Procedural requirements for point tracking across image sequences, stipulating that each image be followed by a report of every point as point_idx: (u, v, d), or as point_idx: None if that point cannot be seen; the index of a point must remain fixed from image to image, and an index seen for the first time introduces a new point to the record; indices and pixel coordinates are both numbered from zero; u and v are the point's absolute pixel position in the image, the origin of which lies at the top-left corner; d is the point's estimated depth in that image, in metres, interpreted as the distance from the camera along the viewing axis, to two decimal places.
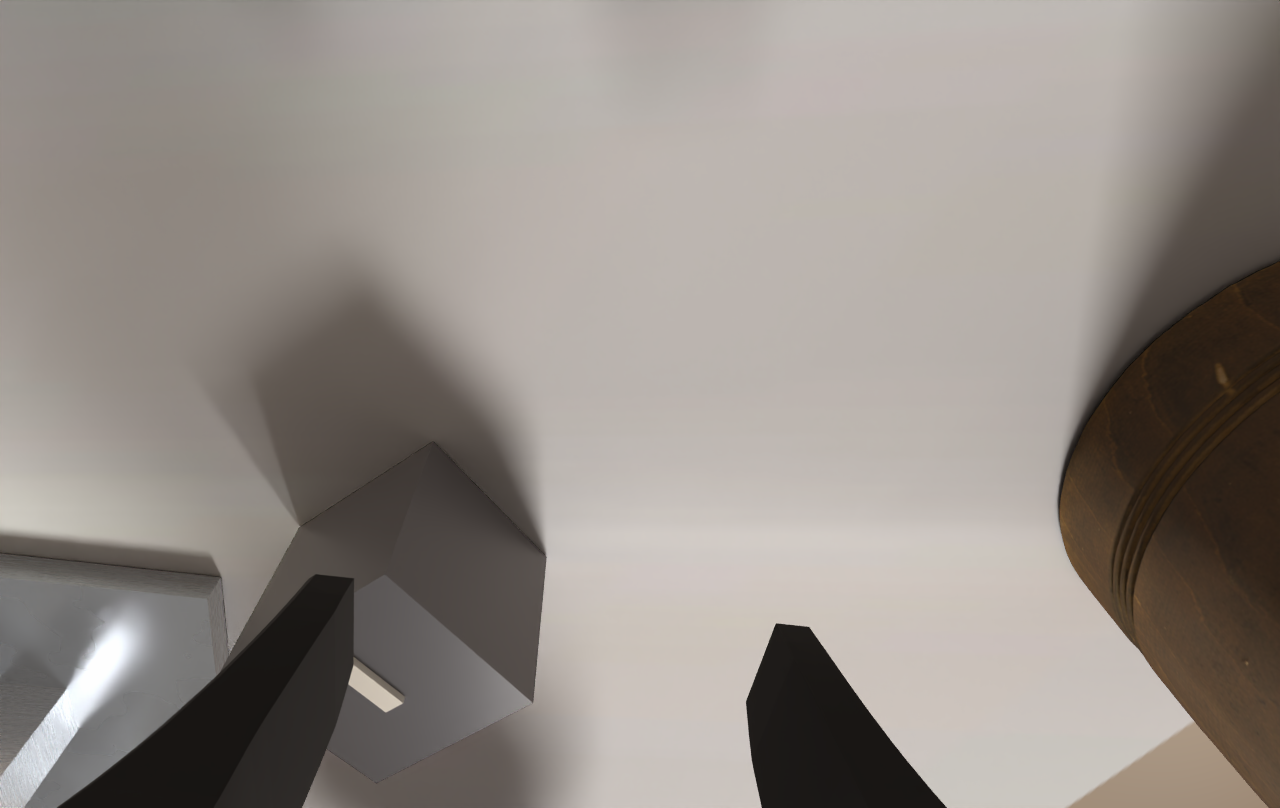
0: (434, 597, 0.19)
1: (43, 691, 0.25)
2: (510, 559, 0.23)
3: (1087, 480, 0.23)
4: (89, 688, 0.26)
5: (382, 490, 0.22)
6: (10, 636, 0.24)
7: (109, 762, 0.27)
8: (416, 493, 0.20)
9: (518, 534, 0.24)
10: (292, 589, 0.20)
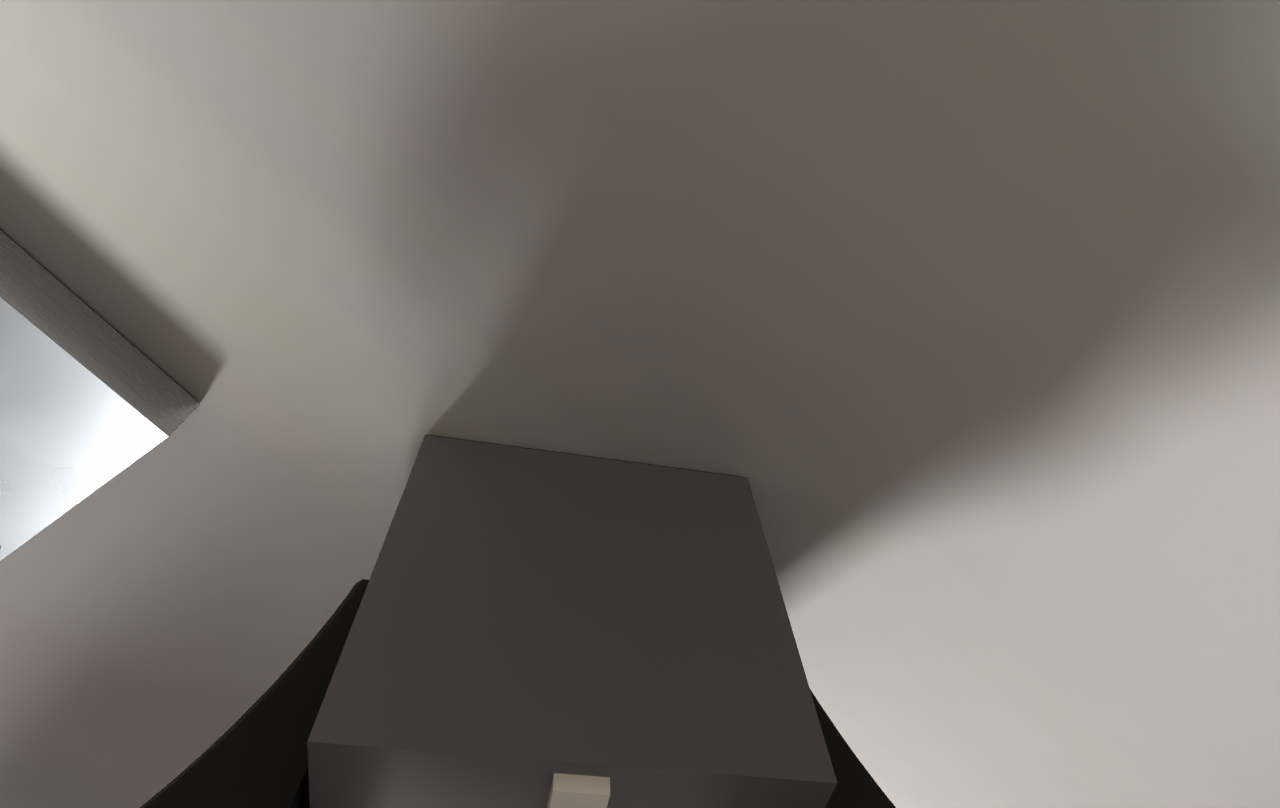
0: None
1: None
2: None
3: None
4: None
5: (660, 506, 0.12)
6: None
7: None
8: (774, 581, 0.11)
9: None
10: (491, 610, 0.09)
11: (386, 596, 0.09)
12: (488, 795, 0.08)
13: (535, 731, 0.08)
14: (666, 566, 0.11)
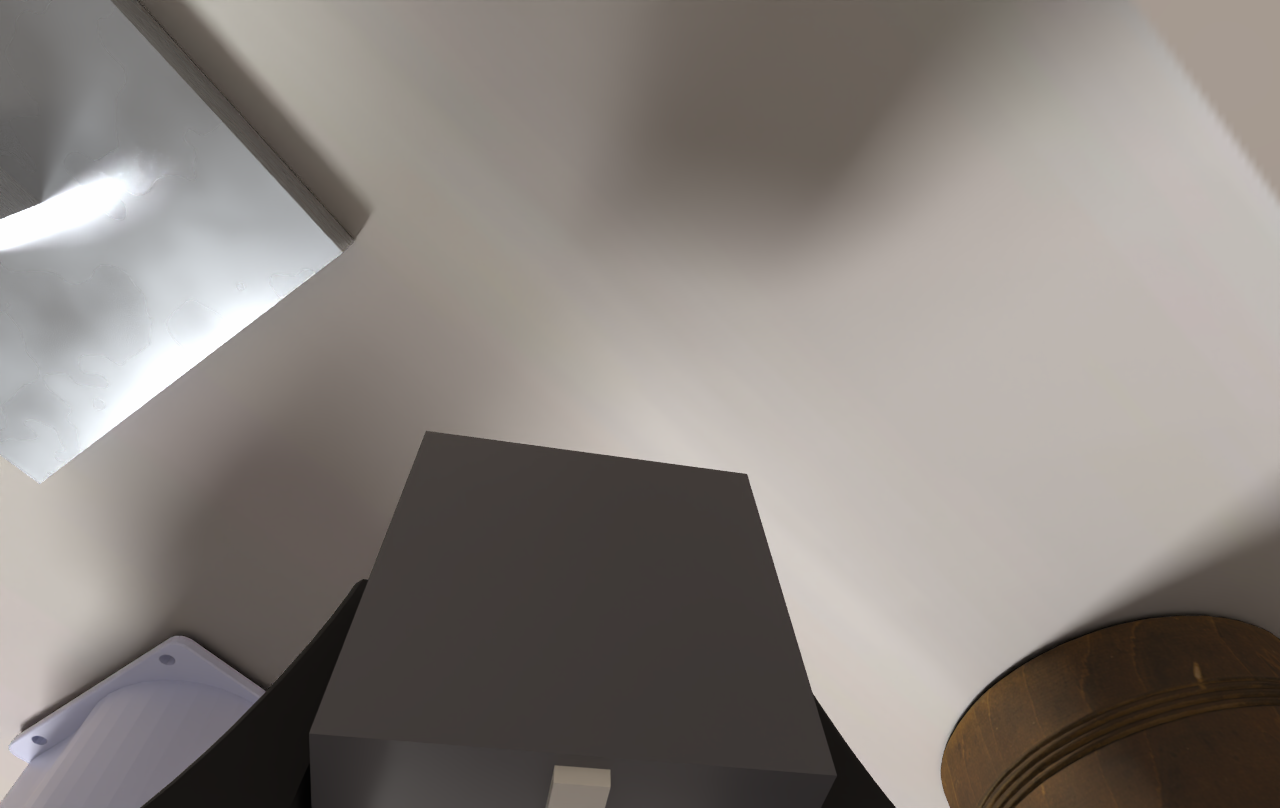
0: None
1: (11, 183, 0.17)
2: None
3: (1043, 683, 0.27)
4: (70, 225, 0.18)
5: (660, 502, 0.12)
6: (52, 94, 0.17)
7: None
8: (775, 576, 0.11)
9: None
10: (492, 603, 0.09)
11: (387, 590, 0.09)
12: (488, 787, 0.08)
13: (536, 724, 0.08)
14: (666, 561, 0.11)
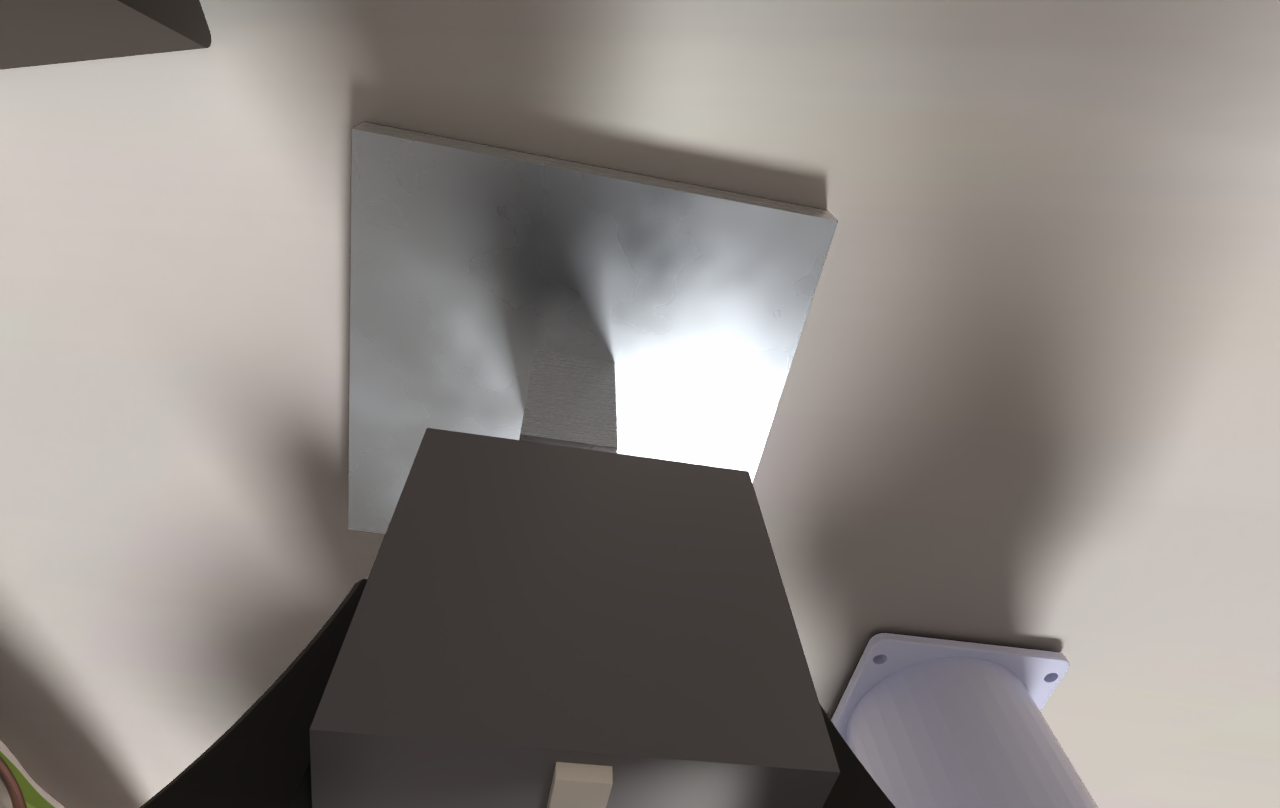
0: None
1: (592, 361, 0.20)
2: None
3: None
4: (640, 362, 0.21)
5: (662, 499, 0.12)
6: (579, 275, 0.19)
7: None
8: (777, 573, 0.11)
9: None
10: (493, 600, 0.09)
11: (388, 586, 0.09)
12: (490, 783, 0.08)
13: (537, 720, 0.08)
14: (668, 558, 0.11)
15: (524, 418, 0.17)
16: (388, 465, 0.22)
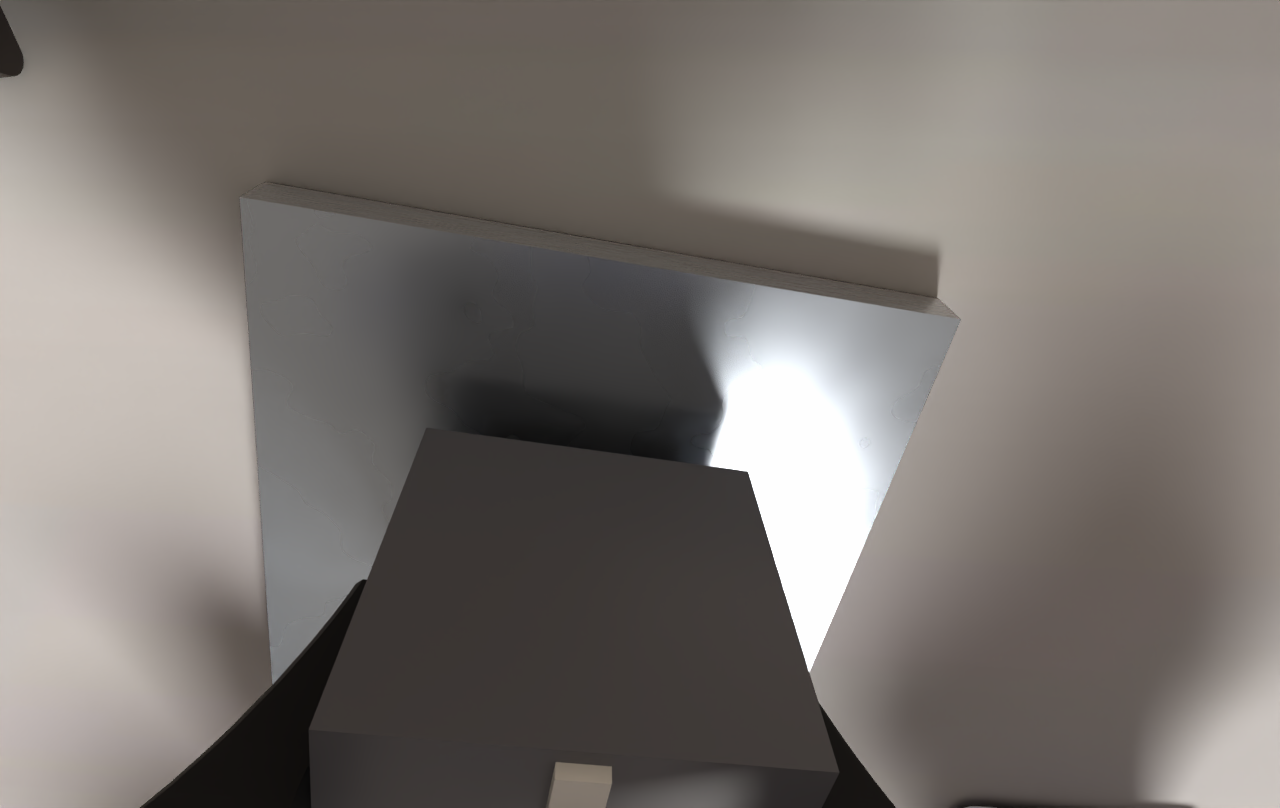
0: None
1: None
2: None
3: None
4: None
5: (661, 499, 0.12)
6: (584, 396, 0.13)
7: None
8: (776, 573, 0.11)
9: None
10: (493, 600, 0.09)
11: (387, 586, 0.09)
12: (489, 783, 0.08)
13: (536, 720, 0.08)
14: (667, 558, 0.11)
15: None
16: None
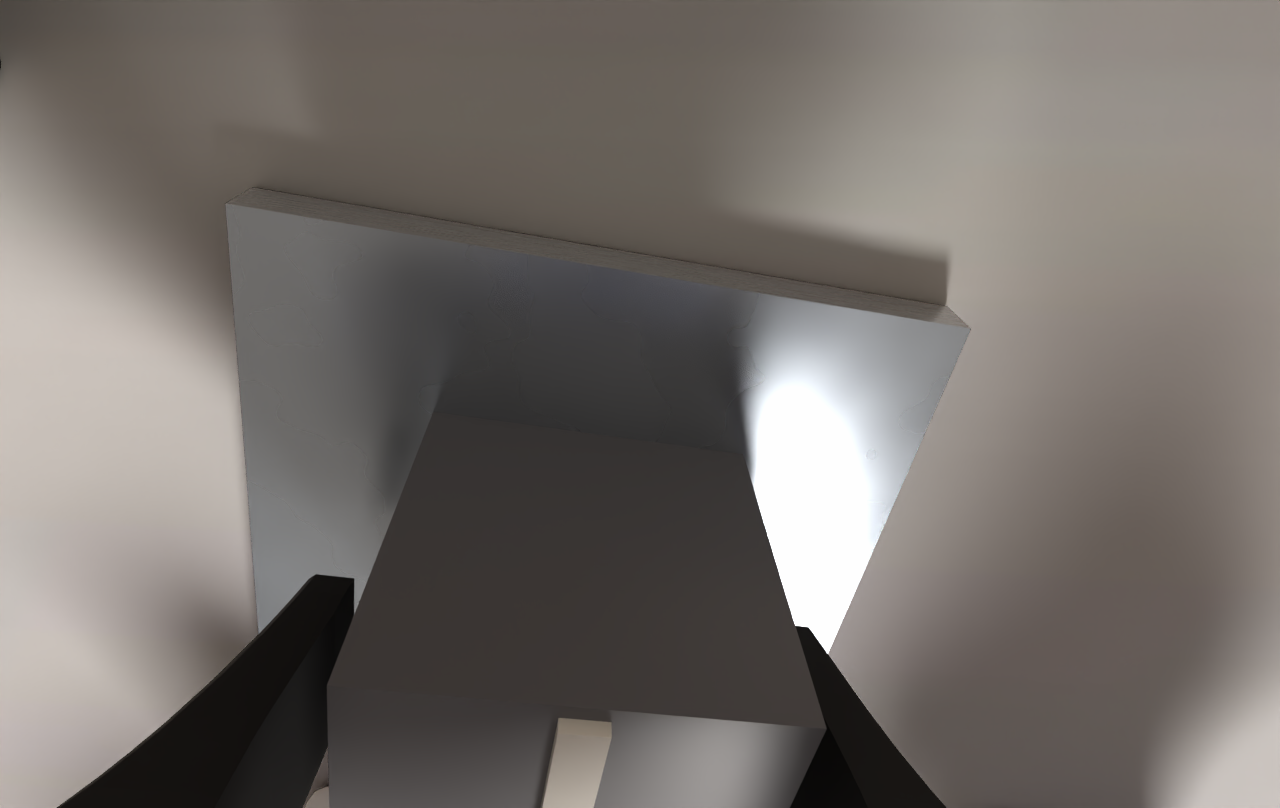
0: None
1: None
2: None
3: None
4: None
5: (659, 479, 0.12)
6: (583, 408, 0.13)
7: None
8: (769, 548, 0.12)
9: None
10: (498, 571, 0.10)
11: (398, 557, 0.10)
12: (496, 739, 0.08)
13: (541, 680, 0.09)
14: (665, 533, 0.11)
15: None
16: None
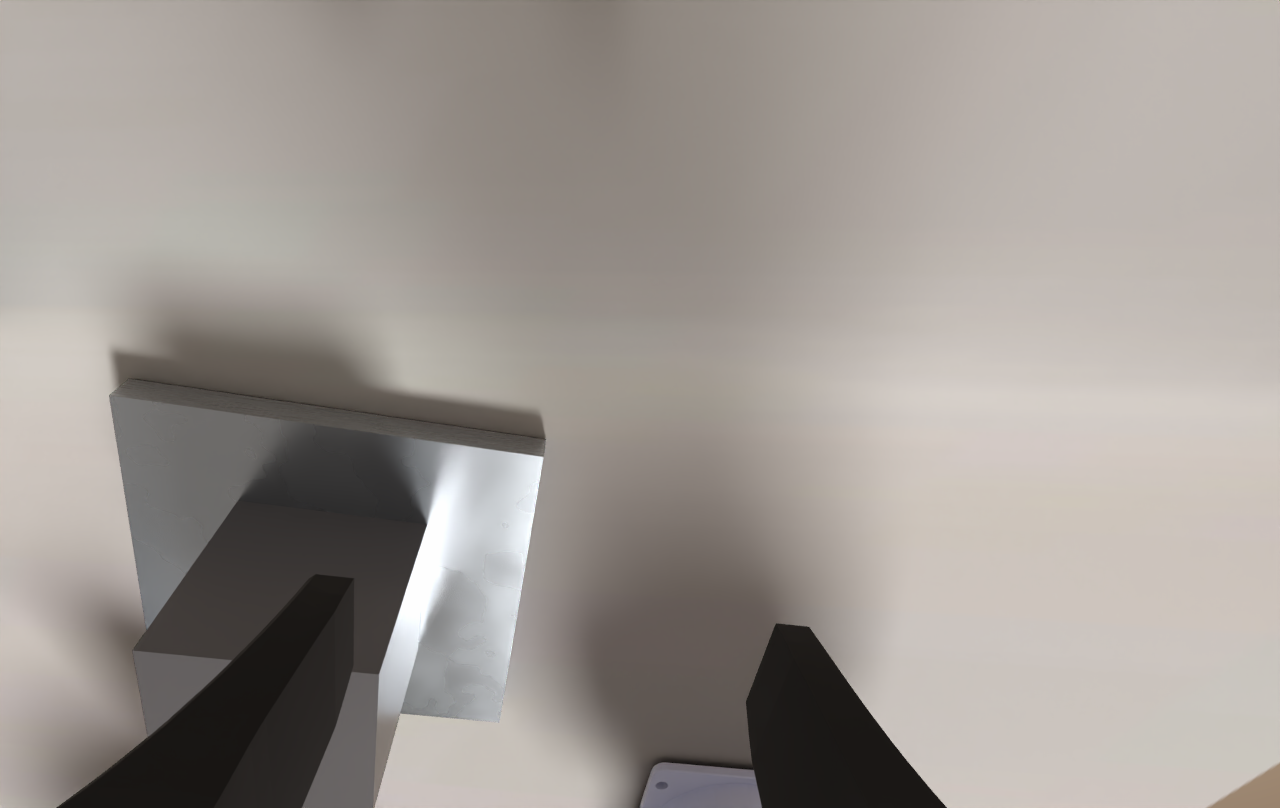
0: (382, 699, 0.19)
1: None
2: (409, 654, 0.24)
3: None
4: None
5: (362, 542, 0.22)
6: (326, 498, 0.23)
7: None
8: (408, 583, 0.21)
9: (418, 626, 0.25)
10: (240, 596, 0.19)
11: (187, 589, 0.19)
12: None
13: (240, 649, 0.18)
14: (347, 575, 0.21)
15: None
16: None
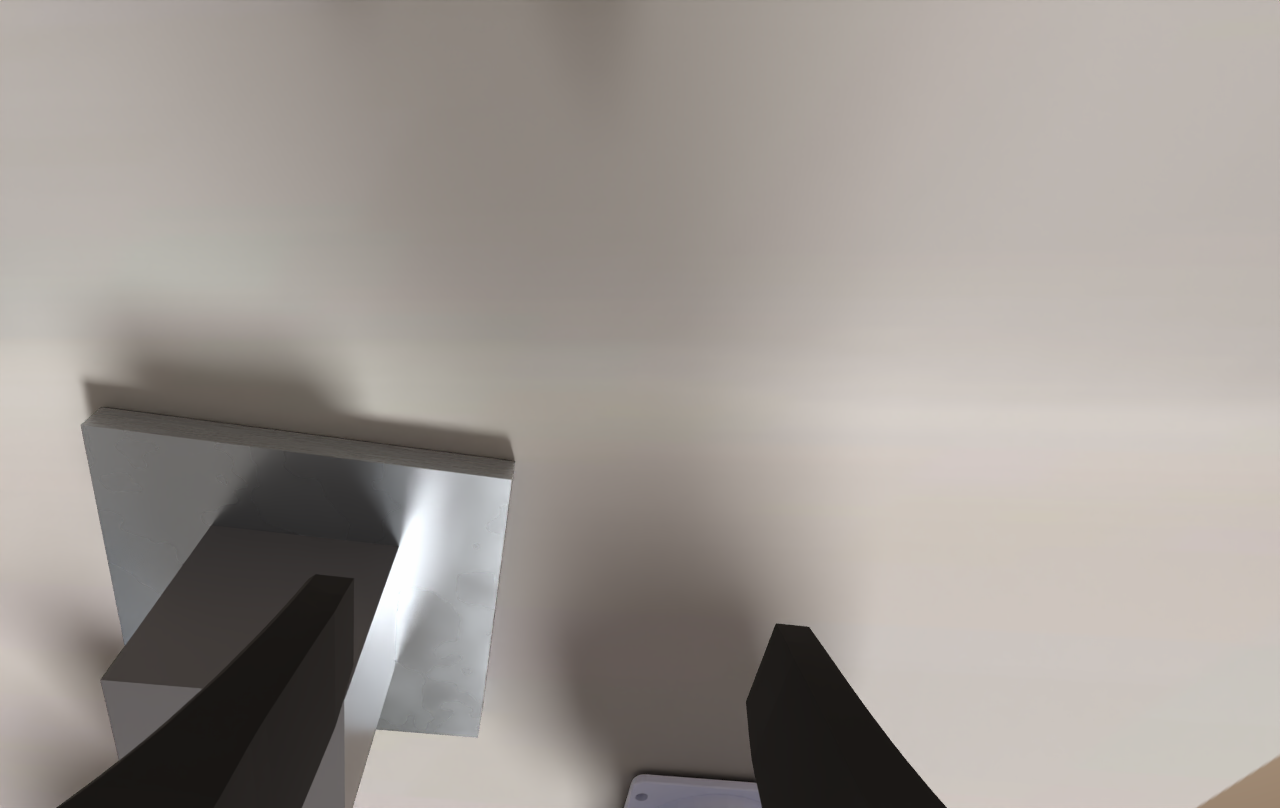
0: (350, 722, 0.20)
1: None
2: (383, 674, 0.24)
3: None
4: None
5: (333, 565, 0.22)
6: (298, 522, 0.23)
7: None
8: (378, 607, 0.21)
9: (393, 645, 0.25)
10: (209, 623, 0.20)
11: (157, 616, 0.20)
12: None
13: (207, 677, 0.18)
14: None
15: None
16: None
